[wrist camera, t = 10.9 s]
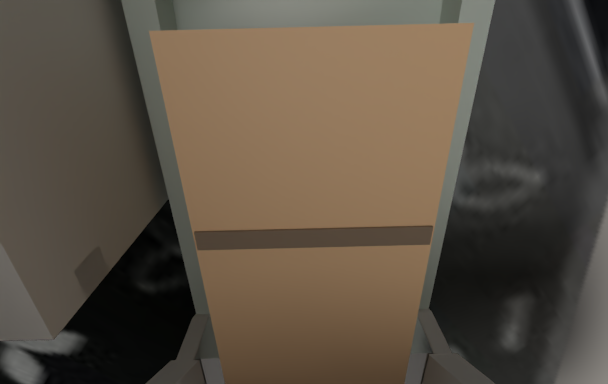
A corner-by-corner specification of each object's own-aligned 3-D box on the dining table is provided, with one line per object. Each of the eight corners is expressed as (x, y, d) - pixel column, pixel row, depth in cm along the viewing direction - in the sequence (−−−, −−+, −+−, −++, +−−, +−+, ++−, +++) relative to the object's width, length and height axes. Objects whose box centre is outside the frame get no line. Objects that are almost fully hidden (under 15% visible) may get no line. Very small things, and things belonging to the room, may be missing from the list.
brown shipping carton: (364, 348, 13) (388, 465, 10) (258, 351, 13) (242, 469, 10) (395, 29, 8) (476, 22, 4) (217, 33, 8) (147, 30, 4)
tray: (401, 345, 16) (413, 381, 14) (222, 349, 16) (213, 385, 14) (470, -48, 9) (509, -67, 7) (143, -41, 9) (107, -58, 7)
